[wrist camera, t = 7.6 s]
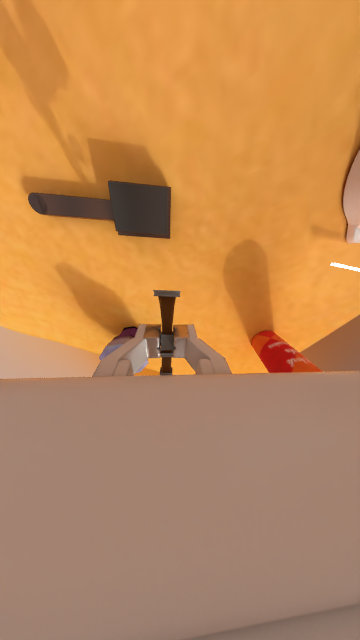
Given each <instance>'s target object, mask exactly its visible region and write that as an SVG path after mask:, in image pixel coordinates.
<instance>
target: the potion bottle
mask: <svg viewBox="0 0 360 640" xmlns="http://www.w3.org/2000/svg"><path fill="white" fill-rule="evenodd" d="M137 329H138V328H136V327H127V328H124V329H123V331H122V333H121V334H120V335H119V336H118V337H115V338H114V339H113V340H112V341H111V342H110V343H109V344H108V345H107V346H106V347H105V349H104V350H103V352H102V354H101V355H100V357H99V358H100V360H102V359H103V358H105V357H106V356H107V355H109V354H110V353H112V352H113V351H115V350H116V349H117V348H119V347H120V346H122V345H123V344H125V343H126V342H128V341H129V340H130V339H132V338H135V335H136V332H137ZM147 364H148V358H147V360H146V361H145V362H144V364H143V365H142V366H141V367H140V368H139V369H138V371H137V372H136V373H138V372H141V371H142V369H143V368H144V367H145V366H146V365H147Z"/></svg>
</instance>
